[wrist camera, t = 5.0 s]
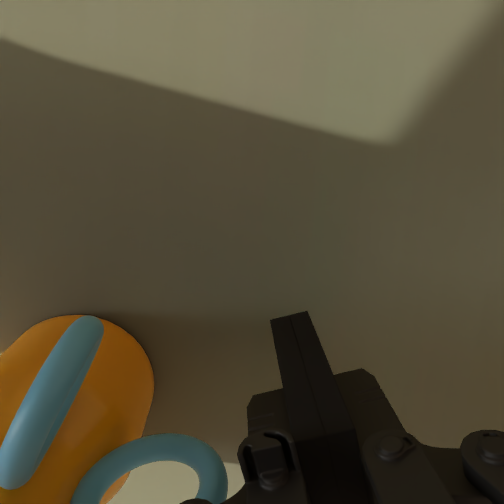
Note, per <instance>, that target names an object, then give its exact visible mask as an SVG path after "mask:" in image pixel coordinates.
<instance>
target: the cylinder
mask: <svg viewBox="0 0 504 504" xmlns="http://www.w3.org/2000/svg"><path fill="white" fill-rule="evenodd" d="M153 394H154V375H153V370H152V367H151V364H150V361H149V359H148V357H147V355H146V354H145V352H144V350H143V348H142V347H141V346H140V344H139V343H138V342H137V341H136V340H135V339H134V338H133V337H132V336H131V335H130V334H128V333H127V332H126V331H125V330H124V329H122V328H121V327H119V326H117V325H115V324H113V323H111V322H109V321H106V320H103V319H100V318H97V317H95V316H90V315H87V316H85V315H64V316H59V317H54V318H50V319H47V320H44V321H42V322H40V323H38V324H36V325H34V326H32V327H31V328H30V329H28V330H27V331H26V332H24V333H23V334H22V335H21V336H20V337H19V338H18V339H17V340H16V341H15V342H14V343H13V344H12V345H11V346H10V347H9V348H7V349H6V350H5V351H4V352H3V353H2V354H1V355H0V504H106V503H108V502H109V501H110V500H111V499H112V498H113V497H114V496H115V495H116V494H117V492H118V491H119V490H120V489H121V487H122V486H123V484H124V483H125V481H126V479H127V478H128V476H129V474H130V471H131V470H133V469H135V468H137V467H139V466H142V465H144V464H148V463H151V462H156V461H177V462H181V463H184V464H186V465H188V466H190V467H191V468H193V469H194V470H195V471H196V473H197V475H198V477H199V482H200V484H199V490H198V493H197V495H196V497H195V498H200V499H206V500H208V501H209V502H211V503H212V504H220V503H222V502H224V501H226V498H227V491H228V479H227V473H226V469H225V466H224V464H223V462H222V460H221V458H220V456H219V455H218V454H217V452H216V451H215V450H214V449H213V448H212V447H211V446H209V445H208V444H207V443H205V442H203V441H201V440H199V439H197V438H195V437H192V436H188V435H184V434H175V433H164V434H155V435H150V436H145V437H142V433H143V430H144V427H145V423H146V420H147V416H148V413H149V410H150V406H151V403H152V399H153ZM141 437H142V438H141Z"/></svg>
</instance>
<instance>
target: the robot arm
mask: <svg viewBox="0 0 504 504" xmlns="http://www.w3.org/2000/svg"><path fill="white" fill-rule="evenodd" d="M270 323H271V328H272V333H273V338H274V343H275V349H276V354H277V359H278V364H279V369H280V374H281V380H282V385H283V388H282V389H278V390H273V391H269V392H265V393H261V394H257V395H253V396H252V398H251V400H250V402H249V404H248V406H247V419H248V437H246V438H245V439H244V440H243V442H242V443H241V444H240V446H239V448H238V452H237V456H238V460H239V463H240V466H241V470H242V473H243V476H244V479H245V484H244V486H243V487H242V488H241V489H240V490H239V491H238V492H237V493H236V494H235V495H234V496H232V497H231V498H229V499H227V500H226V501H224V502H222V503H220V504H504V432H501V431H497V430H480V431H476V432H473V433H470V434H469V435H468V436H466V437H465V438H464V439H463V441H462V443H461V446H460V448H461V449H457V448H437V447H431V446H427V445H424V444H421V443H420V442H419V441H418V440H417V439H416V438H415V437H414V436H413V435H411V434H409V433H407V432H406V431H405V429H404V428H403V426H402V424H401V422H400V421H399V419H398V417H397V415H396V414H395V412H394V410H393V408H392V407H391V405H390V403H389V401H388V400H387V398H386V397H385V394H384V393H383V391H382V389H381V388H380V386H379V384H378V382H377V380H376V379H375V377H374V376H373V375H372V374H370V373H369V372H367V371H365V370H364V369H362V368H361V369H357V370H353V371H348V372H344V373H340V374H336V375H333V372H332V370H331V368H330V365H329V363H328V360H327V358H326V355H325V353H324V351H323V348H322V346H321V343H320V341H319V338H318V336H317V333H316V331H315V329H314V326H313V324H312V321H311V319H310V316H309V314H308V312H307V311H305V312H301V313H296V314H292V315H288V316H284V317H280V318H276V319H272V320H270ZM180 504H212V503H211V502H209V501H208V500H206V499H200V498H195V499H190V500H186V501H184V502H182V503H180Z"/></svg>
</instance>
